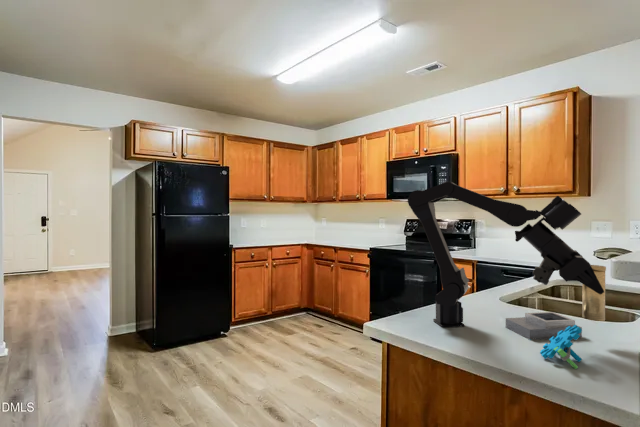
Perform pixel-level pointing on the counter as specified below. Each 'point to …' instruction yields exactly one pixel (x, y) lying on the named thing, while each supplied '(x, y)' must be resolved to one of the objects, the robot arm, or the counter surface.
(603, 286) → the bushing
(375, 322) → the counter surface
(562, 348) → the blue green toy
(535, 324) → the jig
